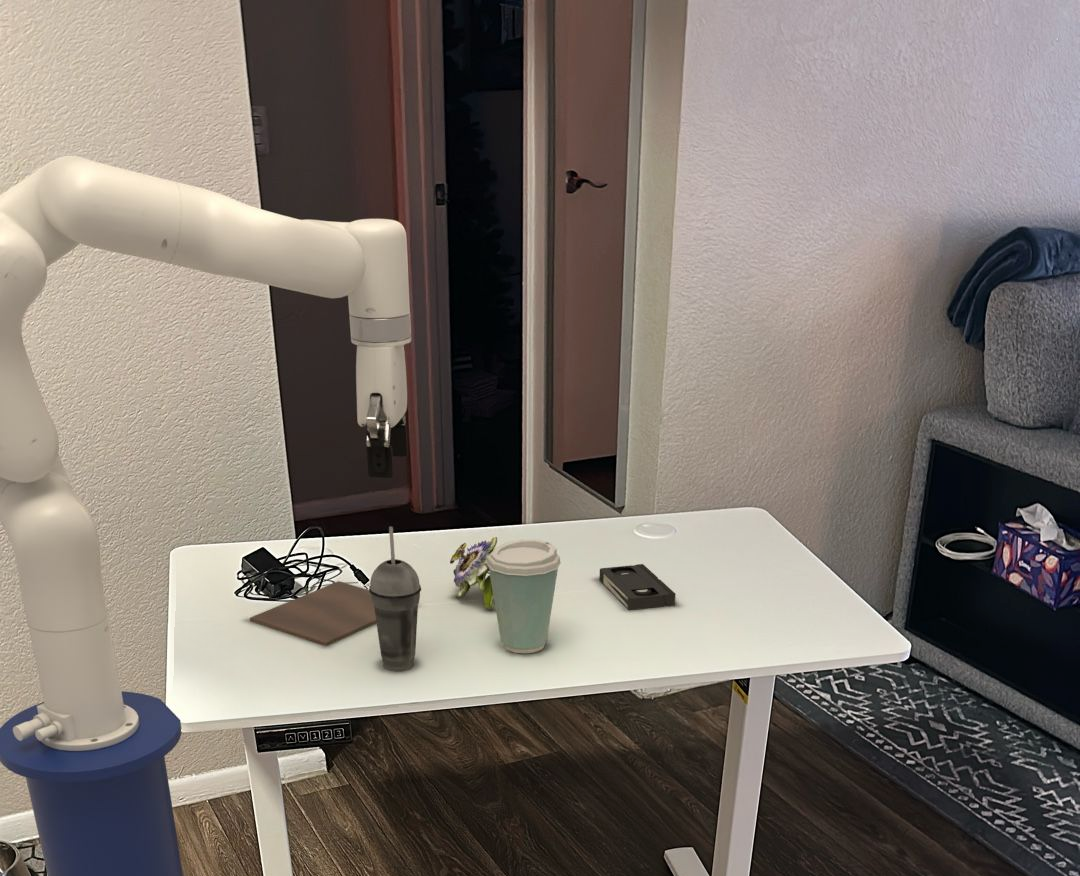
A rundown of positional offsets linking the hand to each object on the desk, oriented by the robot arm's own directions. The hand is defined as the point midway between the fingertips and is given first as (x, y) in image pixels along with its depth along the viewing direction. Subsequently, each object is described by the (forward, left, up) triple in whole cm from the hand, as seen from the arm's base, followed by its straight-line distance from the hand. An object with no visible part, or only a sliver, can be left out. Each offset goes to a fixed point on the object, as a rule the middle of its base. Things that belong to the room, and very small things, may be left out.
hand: (388, 466), depth 169 cm
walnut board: (+9, +21, -29) cm, 37 cm away
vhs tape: (+46, -12, -29) cm, 56 cm away
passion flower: (+29, +6, -29) cm, 42 cm away
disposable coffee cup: (+17, -10, -29) cm, 35 cm away
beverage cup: (+1, 0, -29) cm, 29 cm away
